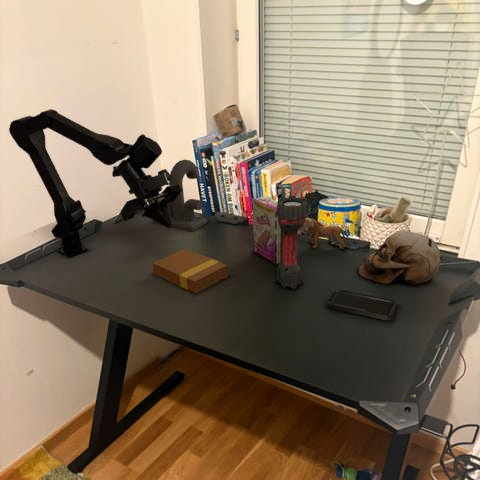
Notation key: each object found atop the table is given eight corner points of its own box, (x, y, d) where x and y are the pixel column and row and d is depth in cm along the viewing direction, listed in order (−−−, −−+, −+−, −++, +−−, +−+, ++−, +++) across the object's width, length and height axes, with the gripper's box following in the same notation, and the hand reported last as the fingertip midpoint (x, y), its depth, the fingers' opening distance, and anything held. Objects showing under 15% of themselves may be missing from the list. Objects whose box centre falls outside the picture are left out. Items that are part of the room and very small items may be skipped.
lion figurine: (300, 250, 145) (301, 221, 140) (299, 242, 149) (300, 214, 144) (350, 249, 144) (353, 220, 139) (347, 242, 148) (350, 214, 143)
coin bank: (353, 268, 133) (364, 222, 126) (408, 265, 138) (421, 220, 130) (381, 297, 121) (395, 248, 113) (441, 293, 125) (457, 245, 118)
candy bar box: (252, 252, 145) (251, 198, 136) (265, 248, 147) (265, 195, 138) (275, 265, 137) (275, 209, 128) (289, 260, 139) (290, 205, 130)
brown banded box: (152, 263, 133) (194, 281, 123) (185, 248, 140) (227, 264, 130) (154, 274, 135) (195, 293, 125) (186, 259, 142) (228, 276, 132)
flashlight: (298, 294, 123) (301, 207, 110) (270, 288, 126) (270, 202, 114) (309, 281, 128) (314, 196, 116) (283, 275, 132) (284, 192, 119)
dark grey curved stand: (221, 216, 171) (217, 158, 160) (194, 231, 160) (188, 170, 149) (180, 207, 179) (174, 152, 168) (152, 222, 168) (144, 163, 157)
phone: (336, 289, 122) (397, 301, 116) (336, 292, 123) (397, 305, 117) (326, 303, 116) (390, 317, 110) (326, 307, 117) (389, 321, 111)
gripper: (120, 170, 119) (157, 222, 119) (174, 153, 131) (207, 200, 131) (105, 196, 127) (140, 244, 127) (157, 177, 139) (188, 222, 139)
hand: (170, 227), depth 131 cm, fingers closed
